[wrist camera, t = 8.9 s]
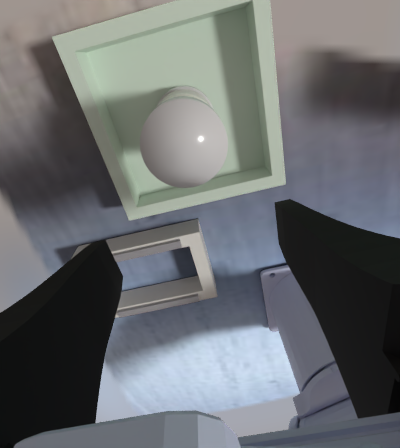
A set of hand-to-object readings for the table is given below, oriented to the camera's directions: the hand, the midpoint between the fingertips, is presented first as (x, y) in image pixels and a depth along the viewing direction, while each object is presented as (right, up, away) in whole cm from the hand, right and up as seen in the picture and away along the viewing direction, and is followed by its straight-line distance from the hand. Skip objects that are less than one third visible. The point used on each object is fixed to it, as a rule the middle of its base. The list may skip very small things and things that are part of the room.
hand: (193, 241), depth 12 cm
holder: (-4, -3, +12) cm, 13 cm away
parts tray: (-1, +8, +6) cm, 10 cm away
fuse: (-1, +7, +6) cm, 9 cm away
